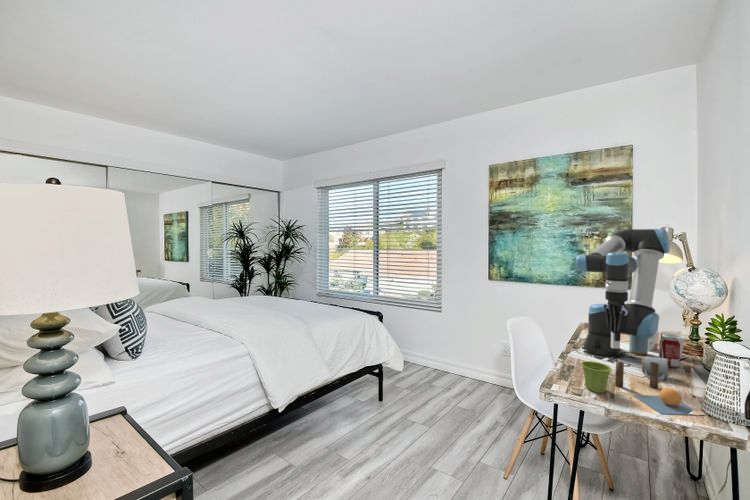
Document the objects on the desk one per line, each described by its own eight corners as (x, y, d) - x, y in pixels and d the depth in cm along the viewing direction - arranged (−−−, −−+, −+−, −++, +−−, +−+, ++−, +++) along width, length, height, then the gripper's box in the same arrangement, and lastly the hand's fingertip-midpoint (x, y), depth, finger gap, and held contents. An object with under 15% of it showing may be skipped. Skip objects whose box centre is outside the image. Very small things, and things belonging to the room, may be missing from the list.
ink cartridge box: (646, 346, 177) (647, 317, 177) (657, 348, 173) (658, 320, 173) (637, 348, 174) (638, 319, 173) (648, 351, 169) (649, 321, 169)
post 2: (654, 386, 128) (655, 362, 128) (659, 388, 126) (660, 364, 126) (647, 385, 128) (648, 362, 128) (652, 388, 126) (653, 364, 126)
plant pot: (603, 385, 129) (604, 362, 129) (616, 396, 120) (617, 371, 119) (576, 382, 131) (577, 360, 130) (586, 393, 121) (587, 369, 121)
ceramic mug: (642, 370, 144) (643, 352, 143) (668, 375, 138) (668, 357, 138) (640, 378, 136) (641, 359, 135) (667, 384, 130) (668, 364, 130)
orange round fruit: (687, 408, 110) (672, 403, 116) (684, 390, 111) (670, 386, 116) (670, 408, 110) (656, 403, 116) (667, 390, 111) (654, 386, 116)
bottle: (639, 350, 169) (640, 320, 169) (651, 355, 162) (652, 324, 162) (625, 350, 169) (626, 320, 169) (636, 355, 162) (637, 324, 162)
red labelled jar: (683, 369, 146) (684, 341, 146) (664, 367, 147) (665, 340, 147) (672, 363, 152) (673, 336, 152) (655, 362, 154) (656, 335, 153)
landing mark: (670, 396, 120) (670, 396, 120) (704, 415, 107) (704, 415, 107) (632, 395, 120) (632, 394, 120) (660, 414, 107) (661, 413, 107)
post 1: (620, 384, 129) (621, 361, 129) (624, 387, 127) (625, 363, 126) (613, 384, 129) (614, 361, 129) (617, 387, 127) (618, 363, 126)
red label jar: (682, 356, 163) (683, 335, 162) (686, 361, 155) (687, 339, 155) (660, 352, 167) (660, 332, 167) (663, 357, 160) (663, 336, 160)
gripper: (597, 288, 146) (596, 342, 147) (617, 293, 133) (615, 353, 134) (615, 288, 146) (614, 342, 147) (637, 293, 133) (635, 353, 134)
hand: (615, 347), depth 141 cm, fingers closed
